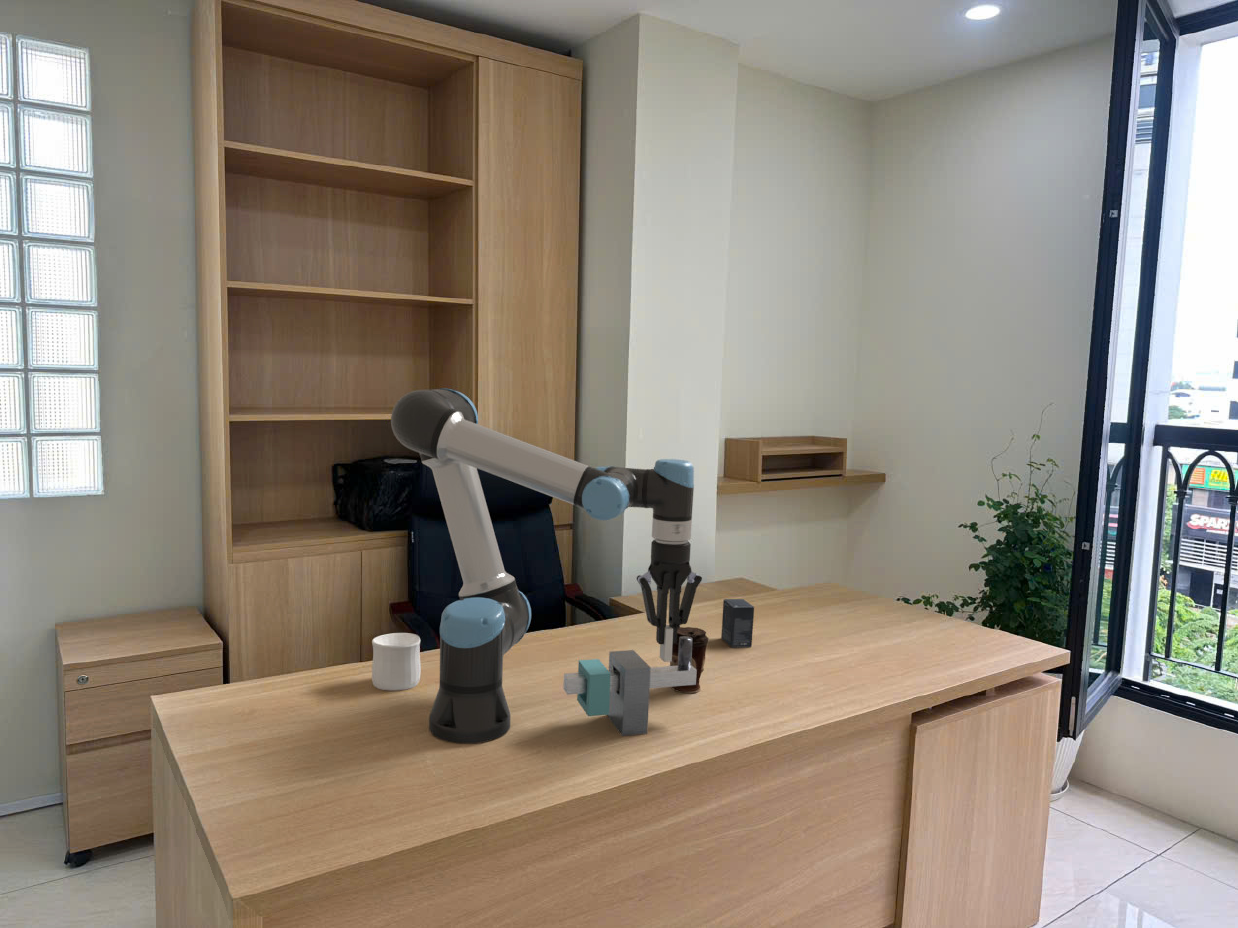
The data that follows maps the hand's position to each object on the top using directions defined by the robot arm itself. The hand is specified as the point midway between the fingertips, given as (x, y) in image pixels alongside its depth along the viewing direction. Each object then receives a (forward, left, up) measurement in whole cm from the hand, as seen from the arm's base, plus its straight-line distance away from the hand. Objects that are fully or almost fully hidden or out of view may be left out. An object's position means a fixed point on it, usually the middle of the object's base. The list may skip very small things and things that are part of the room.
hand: (665, 659), depth 167 cm
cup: (-49, +30, -13) cm, 59 cm away
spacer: (-14, 0, -9) cm, 17 cm away
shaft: (-7, 0, -5) cm, 9 cm away
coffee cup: (+11, +15, -13) cm, 23 cm away
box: (+36, +42, -13) cm, 57 cm away
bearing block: (-7, 0, -13) cm, 15 cm away
